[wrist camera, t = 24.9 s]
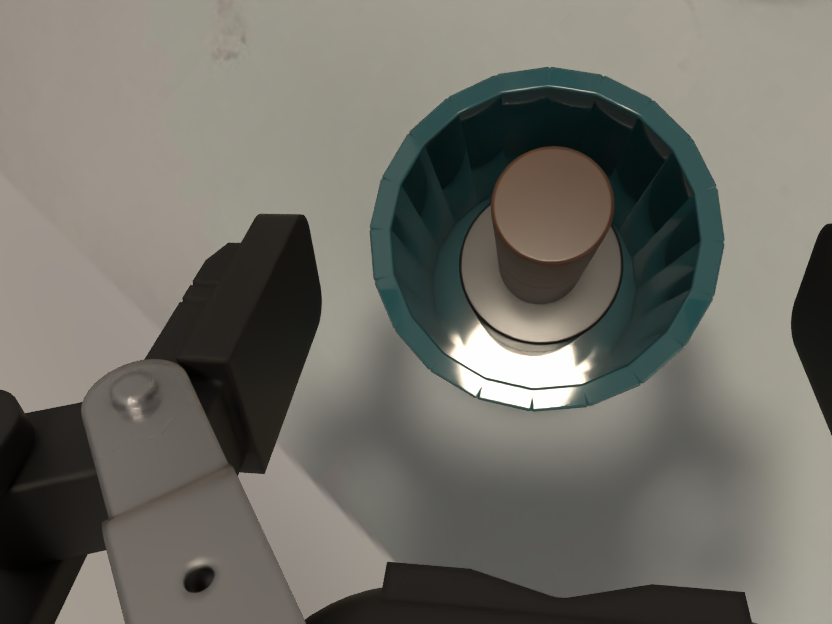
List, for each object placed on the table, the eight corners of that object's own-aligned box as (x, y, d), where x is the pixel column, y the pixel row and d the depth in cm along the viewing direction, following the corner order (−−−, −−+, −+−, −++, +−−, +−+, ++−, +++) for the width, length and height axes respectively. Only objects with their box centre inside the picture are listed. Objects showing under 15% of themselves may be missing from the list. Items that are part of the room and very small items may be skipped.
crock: (523, 445, 24) (527, 484, 15) (378, 280, 25) (304, 225, 16) (695, 296, 24) (802, 244, 15) (539, 136, 25) (553, 0, 16)
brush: (451, 327, 24) (398, 283, 13) (493, 205, 24) (474, 59, 13) (579, 369, 23) (635, 359, 12) (621, 243, 23) (712, 122, 12)
